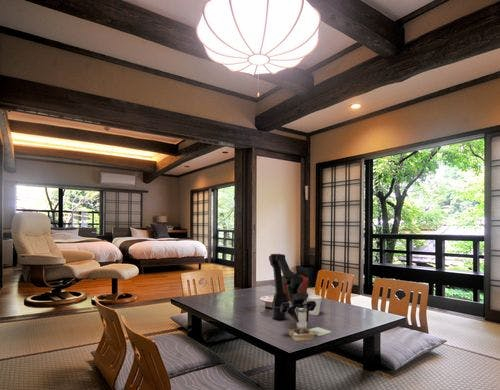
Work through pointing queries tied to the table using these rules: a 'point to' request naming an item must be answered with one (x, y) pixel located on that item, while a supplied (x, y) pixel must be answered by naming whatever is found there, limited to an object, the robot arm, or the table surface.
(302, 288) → the plant pot
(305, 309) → the salt shaker
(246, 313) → the table surface
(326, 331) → the pad
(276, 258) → the robot arm
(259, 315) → the table surface
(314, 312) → the cup
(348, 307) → the table surface
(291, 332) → the bore block
